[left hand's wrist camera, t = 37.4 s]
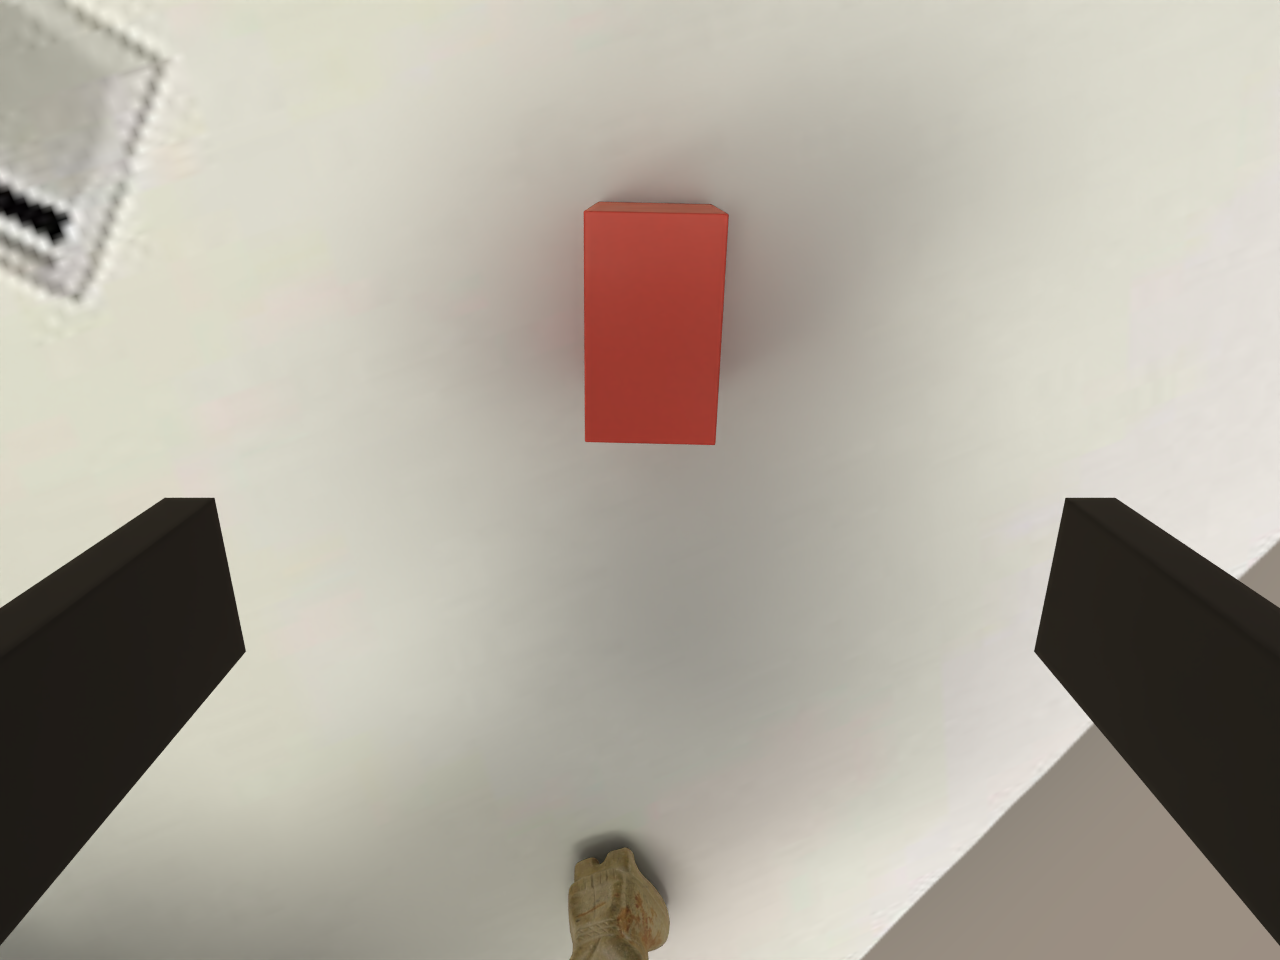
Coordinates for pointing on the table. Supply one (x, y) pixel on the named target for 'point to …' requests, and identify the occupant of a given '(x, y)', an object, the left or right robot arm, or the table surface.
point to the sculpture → (615, 910)
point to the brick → (653, 321)
